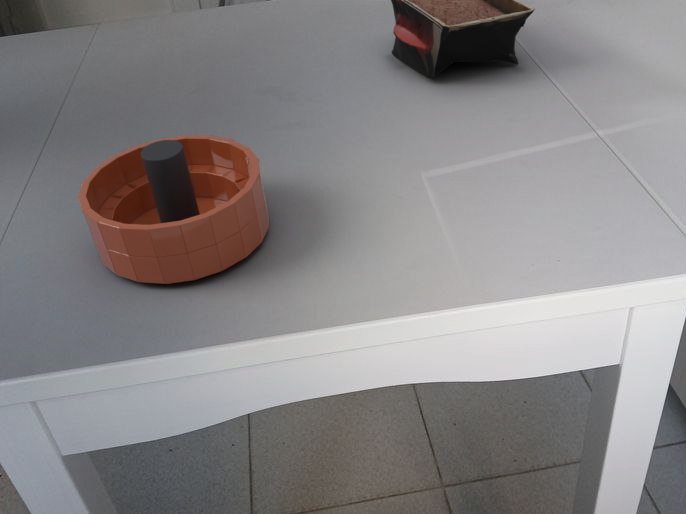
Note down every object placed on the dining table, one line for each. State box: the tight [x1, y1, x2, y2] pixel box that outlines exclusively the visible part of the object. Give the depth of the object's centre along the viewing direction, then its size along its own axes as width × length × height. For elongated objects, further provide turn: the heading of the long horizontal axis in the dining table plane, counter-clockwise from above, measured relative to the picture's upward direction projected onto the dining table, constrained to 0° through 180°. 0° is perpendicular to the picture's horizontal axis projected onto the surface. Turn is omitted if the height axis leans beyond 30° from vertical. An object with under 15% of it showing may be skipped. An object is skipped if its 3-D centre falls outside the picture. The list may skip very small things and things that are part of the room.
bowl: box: [77, 134, 270, 285], centre depth 64 cm, size 15×15×6 cm
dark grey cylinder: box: [141, 140, 200, 223], centre depth 63 cm, size 4×4×8 cm
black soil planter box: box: [390, 0, 535, 80], centre depth 87 cm, size 14×18×10 cm
